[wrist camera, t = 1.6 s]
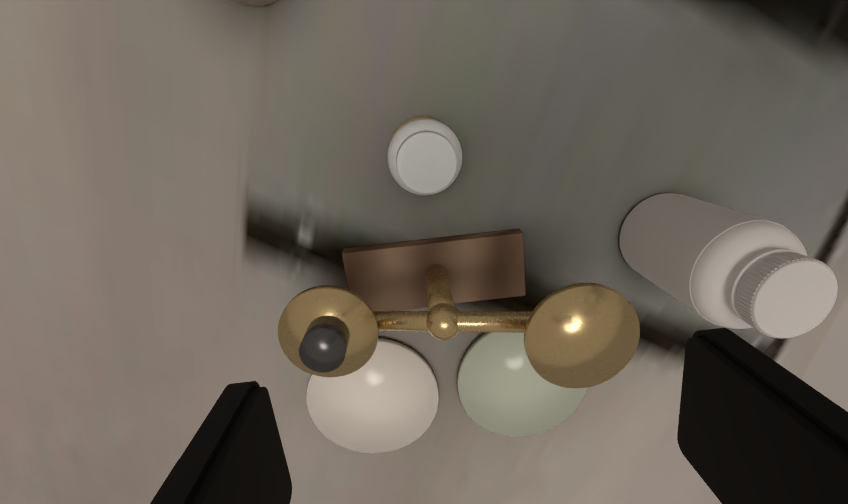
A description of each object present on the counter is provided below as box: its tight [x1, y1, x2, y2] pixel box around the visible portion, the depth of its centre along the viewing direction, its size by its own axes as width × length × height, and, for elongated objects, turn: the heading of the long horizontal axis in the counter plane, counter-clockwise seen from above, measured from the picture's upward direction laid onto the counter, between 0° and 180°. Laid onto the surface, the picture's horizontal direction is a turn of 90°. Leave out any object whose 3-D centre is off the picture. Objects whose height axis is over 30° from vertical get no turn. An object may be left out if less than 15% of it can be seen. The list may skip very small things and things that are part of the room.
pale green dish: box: [457, 332, 587, 437], centre depth 44 cm, size 13×13×1 cm
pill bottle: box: [619, 193, 838, 338], centre depth 34 cm, size 8×8×15 cm
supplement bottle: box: [388, 116, 462, 195], centre depth 33 cm, size 5×5×10 cm
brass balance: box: [278, 229, 640, 388], centre depth 34 cm, size 23×7×15 cm, turn 96°
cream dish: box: [307, 338, 439, 453], centre depth 44 cm, size 13×13×1 cm
